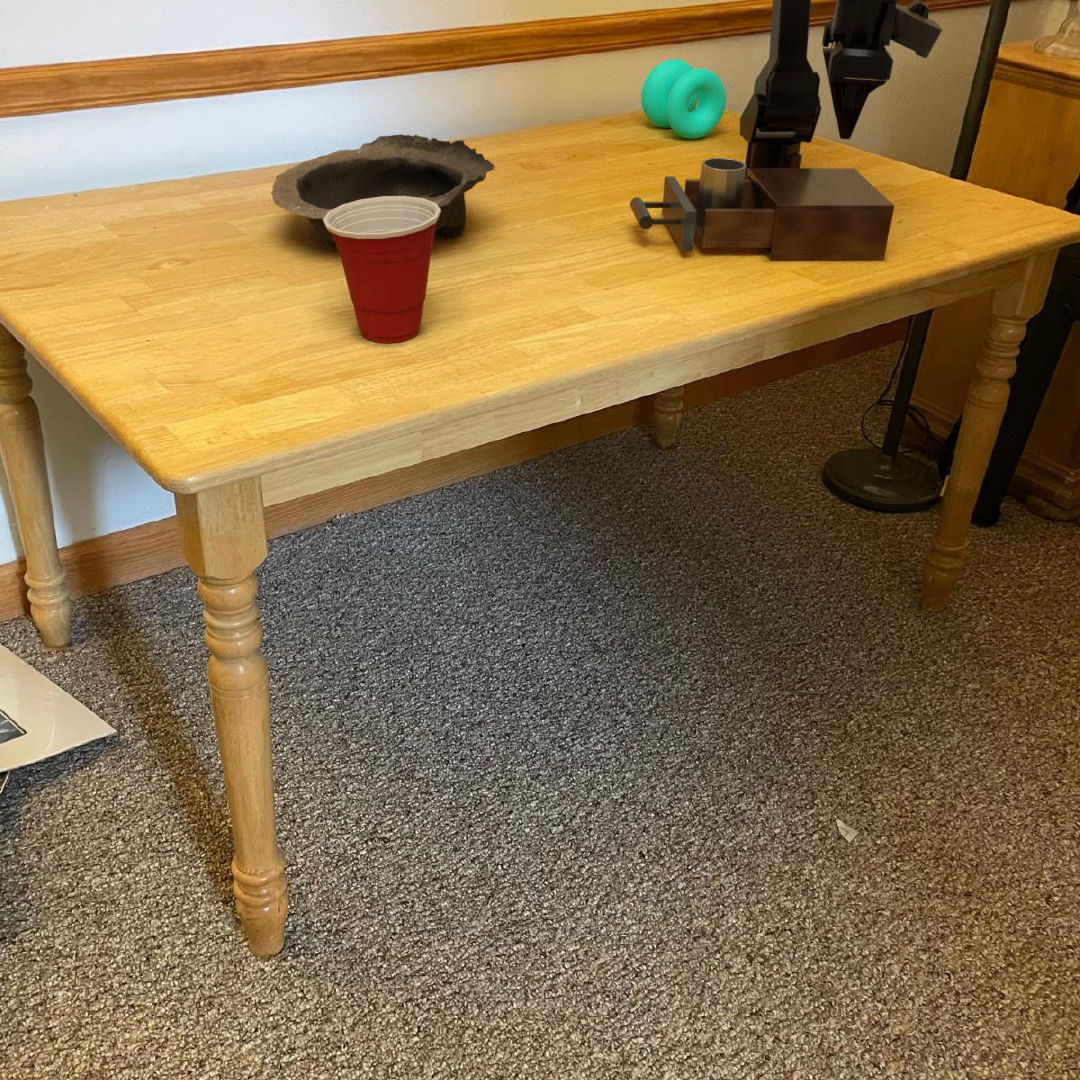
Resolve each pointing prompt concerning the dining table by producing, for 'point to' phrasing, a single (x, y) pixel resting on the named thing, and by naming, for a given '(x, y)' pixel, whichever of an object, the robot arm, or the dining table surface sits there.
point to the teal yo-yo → (683, 98)
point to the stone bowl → (385, 179)
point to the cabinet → (824, 214)
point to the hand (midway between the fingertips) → (842, 128)
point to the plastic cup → (386, 261)
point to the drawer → (710, 217)
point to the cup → (720, 185)
